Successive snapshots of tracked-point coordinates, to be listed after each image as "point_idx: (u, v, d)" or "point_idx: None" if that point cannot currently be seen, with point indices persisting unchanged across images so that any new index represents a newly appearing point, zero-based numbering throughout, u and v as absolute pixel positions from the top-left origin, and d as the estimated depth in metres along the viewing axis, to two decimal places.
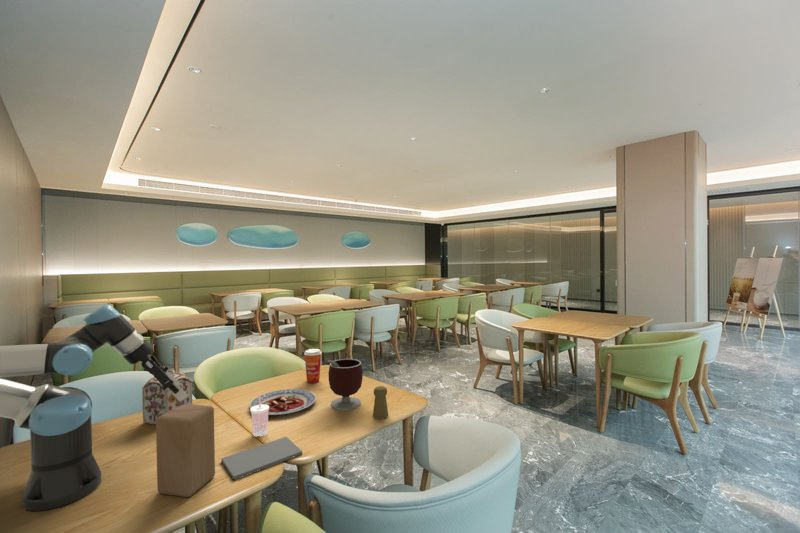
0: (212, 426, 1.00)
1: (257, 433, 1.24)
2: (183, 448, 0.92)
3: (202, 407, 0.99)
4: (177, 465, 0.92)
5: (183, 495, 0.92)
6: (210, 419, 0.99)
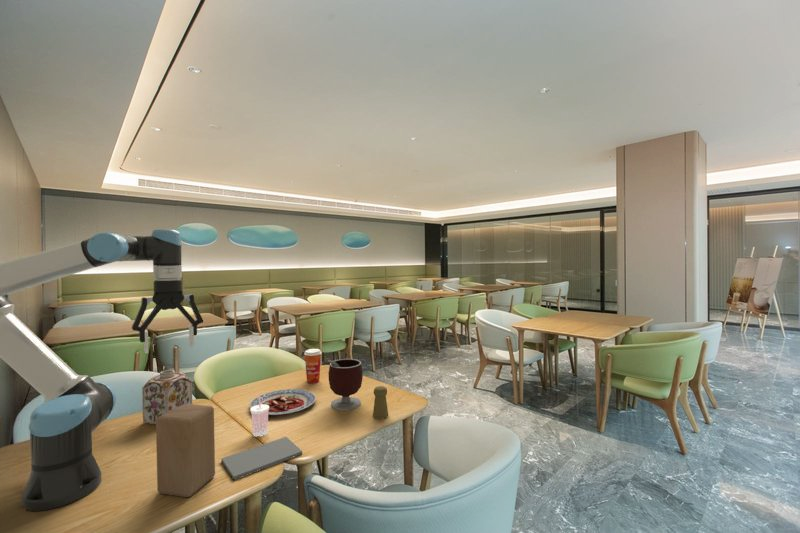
0: (212, 426, 1.00)
1: (257, 433, 1.24)
2: (183, 448, 0.92)
3: (202, 407, 0.99)
4: (177, 465, 0.92)
5: (183, 495, 0.92)
6: (210, 419, 0.99)
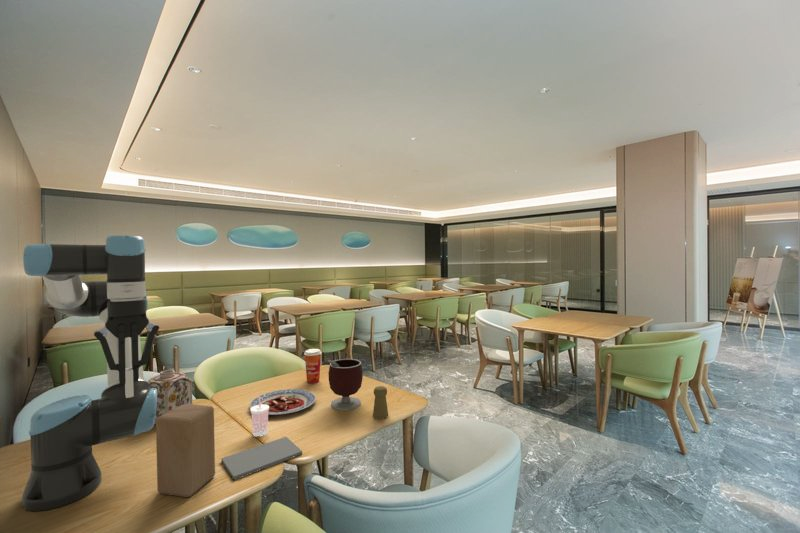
0: (212, 426, 1.00)
1: (257, 433, 1.24)
2: (183, 448, 0.92)
3: (202, 407, 0.99)
4: (177, 465, 0.92)
5: (183, 495, 0.92)
6: (210, 419, 0.99)
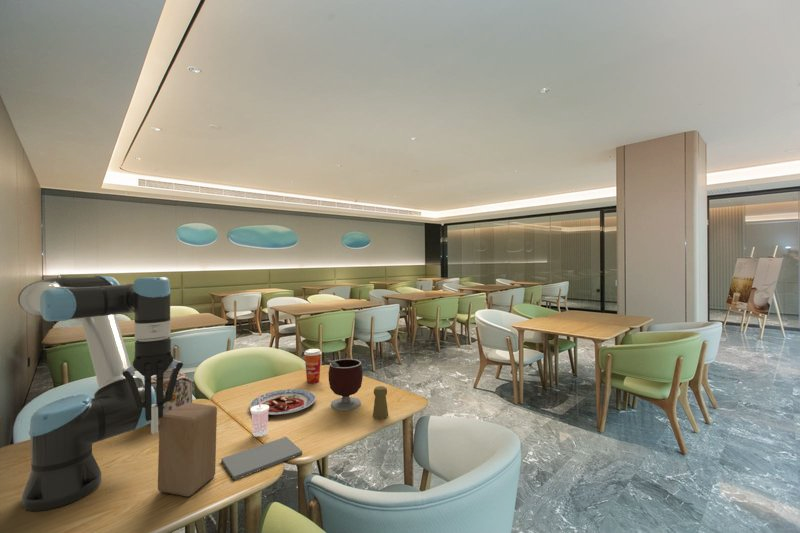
0: (214, 426, 1.00)
1: (257, 433, 1.24)
2: (185, 447, 0.92)
3: (205, 406, 1.00)
4: (178, 464, 0.92)
5: (183, 494, 0.92)
6: (213, 419, 0.99)
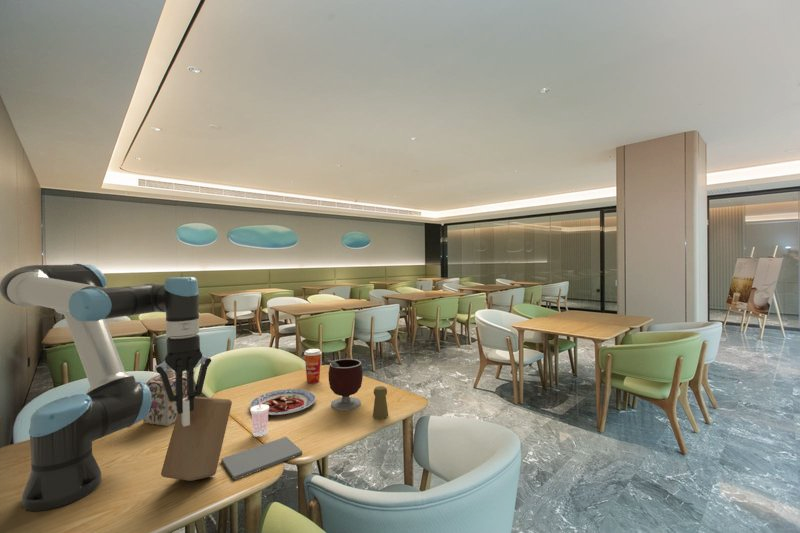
0: (226, 419, 1.06)
1: (257, 433, 1.24)
2: (200, 426, 0.97)
3: None
4: (189, 444, 0.96)
5: (186, 477, 0.93)
6: (227, 411, 1.06)
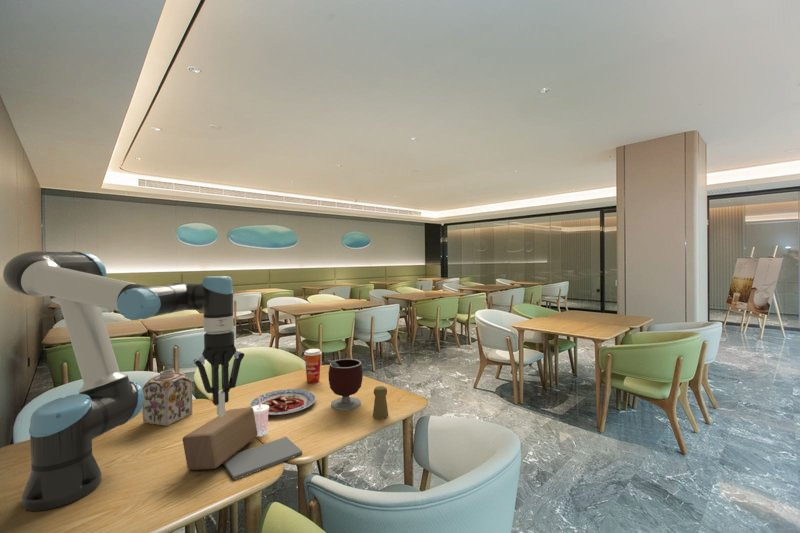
0: (248, 439, 1.16)
1: None
2: (236, 415, 1.15)
3: None
4: (220, 422, 1.11)
5: (206, 434, 1.03)
6: (252, 434, 1.18)
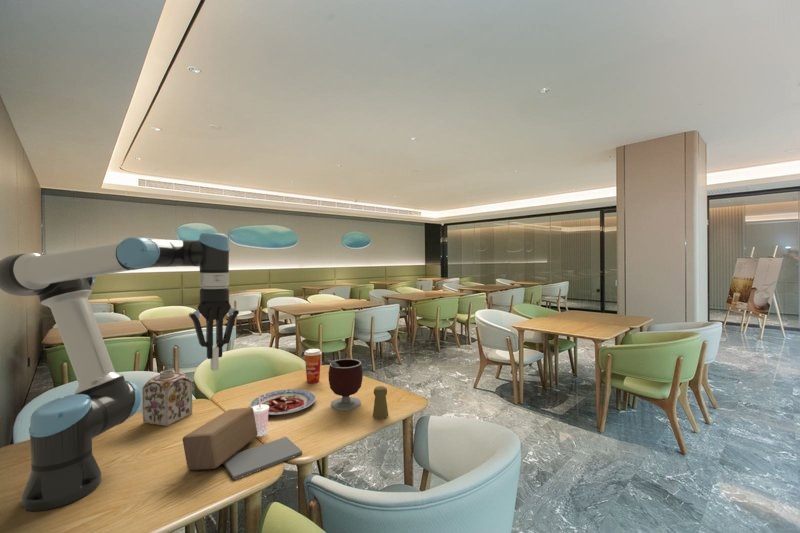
0: (248, 439, 1.16)
1: None
2: (236, 415, 1.15)
3: None
4: (220, 422, 1.11)
5: (206, 434, 1.03)
6: (252, 434, 1.18)
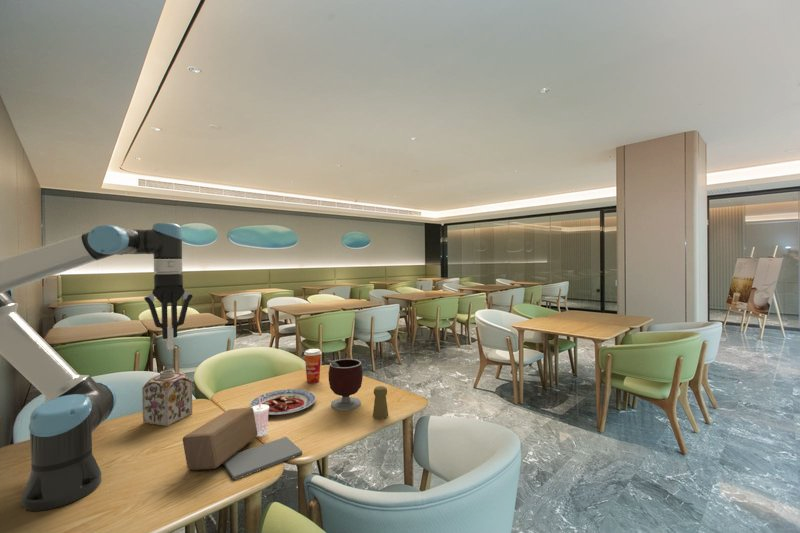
0: (248, 439, 1.16)
1: None
2: (236, 415, 1.15)
3: None
4: (220, 422, 1.11)
5: (206, 434, 1.03)
6: (252, 434, 1.18)
